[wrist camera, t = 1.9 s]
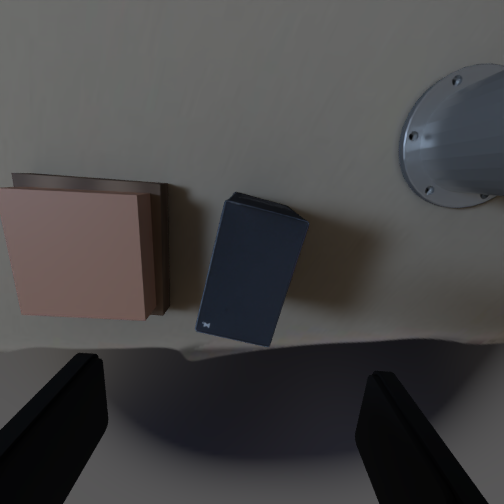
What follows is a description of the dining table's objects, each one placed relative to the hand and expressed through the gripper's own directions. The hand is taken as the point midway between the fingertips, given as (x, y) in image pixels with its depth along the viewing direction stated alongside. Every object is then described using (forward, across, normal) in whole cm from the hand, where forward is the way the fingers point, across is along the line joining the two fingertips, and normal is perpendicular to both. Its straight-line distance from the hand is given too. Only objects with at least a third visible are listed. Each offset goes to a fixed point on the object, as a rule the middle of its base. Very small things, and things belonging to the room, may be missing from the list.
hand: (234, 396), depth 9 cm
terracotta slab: (+18, +16, +1) cm, 24 cm away
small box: (+21, 0, 0) cm, 21 cm away
